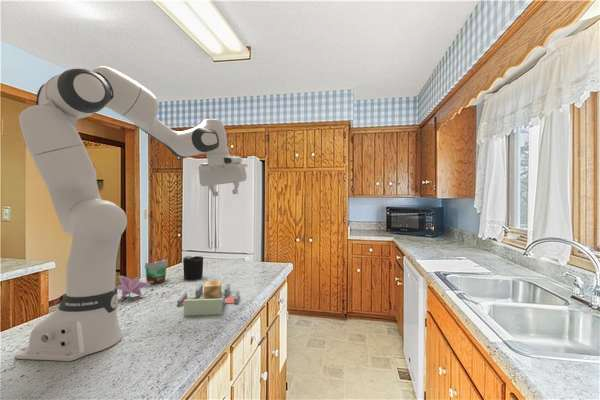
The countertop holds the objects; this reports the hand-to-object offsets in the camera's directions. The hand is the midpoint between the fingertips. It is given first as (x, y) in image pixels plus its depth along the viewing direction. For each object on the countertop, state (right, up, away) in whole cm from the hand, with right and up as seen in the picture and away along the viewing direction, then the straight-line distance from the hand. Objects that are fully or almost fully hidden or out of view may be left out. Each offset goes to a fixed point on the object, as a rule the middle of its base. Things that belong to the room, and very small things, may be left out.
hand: (225, 194), depth 121 cm
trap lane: (-5, -41, -7) cm, 42 cm away
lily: (-36, -41, -4) cm, 55 cm away
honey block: (-5, -41, +1) cm, 42 cm away
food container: (-36, -41, +19) cm, 58 cm away
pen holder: (-23, -41, +27) cm, 54 cm away
